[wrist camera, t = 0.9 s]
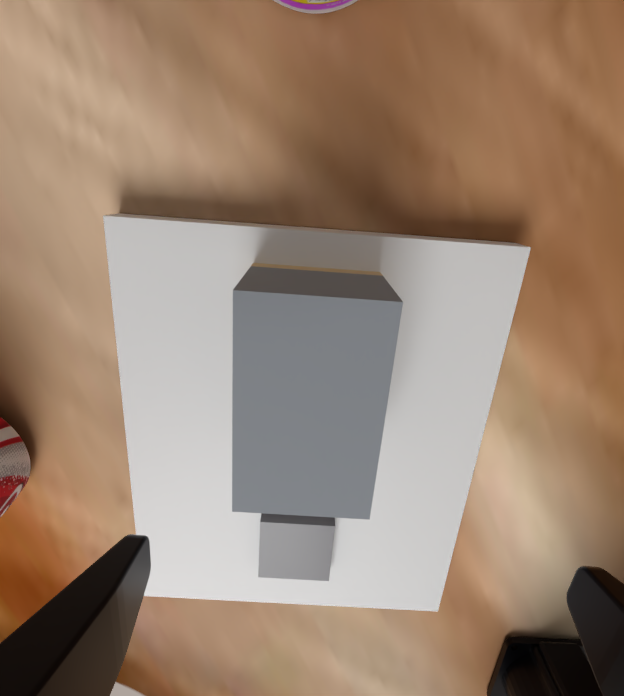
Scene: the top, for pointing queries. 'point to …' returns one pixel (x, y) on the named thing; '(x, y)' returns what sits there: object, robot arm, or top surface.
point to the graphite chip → (295, 547)
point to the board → (216, 402)
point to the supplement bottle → (315, 5)
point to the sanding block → (310, 388)
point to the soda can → (12, 465)
